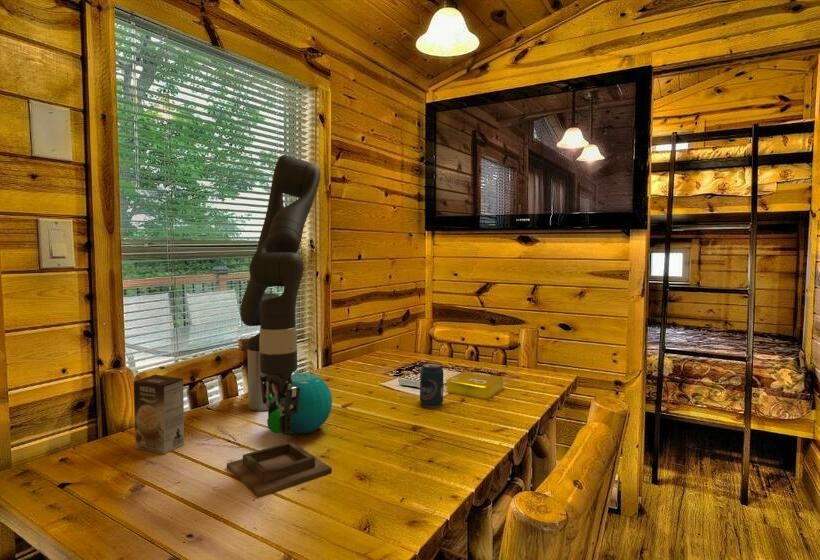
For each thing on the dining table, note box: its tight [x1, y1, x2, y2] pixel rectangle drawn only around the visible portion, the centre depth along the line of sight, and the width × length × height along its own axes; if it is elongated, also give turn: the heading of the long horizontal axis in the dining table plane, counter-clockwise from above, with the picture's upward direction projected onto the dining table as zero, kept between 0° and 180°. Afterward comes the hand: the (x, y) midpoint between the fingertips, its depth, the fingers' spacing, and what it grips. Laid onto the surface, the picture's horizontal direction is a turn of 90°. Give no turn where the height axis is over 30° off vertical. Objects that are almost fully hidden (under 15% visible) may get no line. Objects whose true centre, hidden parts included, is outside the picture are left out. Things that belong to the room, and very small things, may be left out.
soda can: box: [419, 362, 444, 408], centre depth 145 cm, size 7×7×12 cm
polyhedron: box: [266, 409, 282, 435], centre depth 102 cm, size 5×5×5 cm
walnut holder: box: [226, 441, 333, 498], centre depth 102 cm, size 16×16×3 cm
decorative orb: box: [277, 372, 333, 435], centre depth 123 cm, size 15×15×15 cm
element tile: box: [445, 370, 504, 400], centre depth 161 cm, size 15×15×5 cm
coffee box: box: [133, 374, 185, 455], centre depth 114 cm, size 9×6×16 cm
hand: (279, 428), depth 102 cm, fingers closed on polyhedron, 5 cm apart
